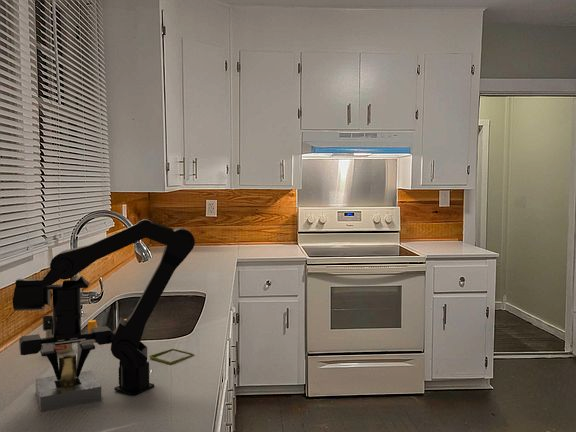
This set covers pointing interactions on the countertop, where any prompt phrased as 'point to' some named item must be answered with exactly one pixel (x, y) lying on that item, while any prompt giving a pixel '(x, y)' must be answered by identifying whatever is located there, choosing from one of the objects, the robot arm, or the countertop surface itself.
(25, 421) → the countertop surface
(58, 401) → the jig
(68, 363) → the bushing
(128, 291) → the countertop surface
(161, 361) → the olive piece
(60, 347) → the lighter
